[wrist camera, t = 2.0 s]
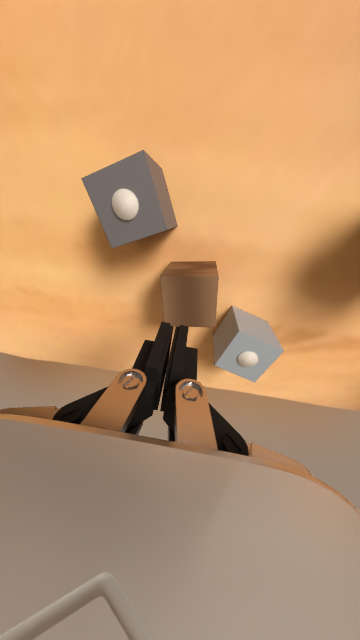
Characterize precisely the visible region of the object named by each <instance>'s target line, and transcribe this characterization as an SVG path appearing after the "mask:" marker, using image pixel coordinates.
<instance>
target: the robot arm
mask: <svg viewBox="0 0 360 640" xmlns="http://www.w3.org/2000/svg"><path fill="white" fill-rule="evenodd" d="M172 333H173V326H170V323H166V322H161V325H160V328H159V331H158V333H157V336H156V339H155V341H149V340H145V341H144V343H143V346H142V348H141V350H140V352H139V355H138V357H137V359H136V361H135V364H134V366H133V368H132V369H127V370H123V371H122V372H120V373H119V374H118V375H117V376H116V377H115V379H114V380H113V381H112V383H111V384H110V385H109V386H108V387H106V388H104V389H102V390H99V391H97V392H95V393H92V394H90V395H88V396H86V397H83V398H81V399H79V400H76V401H74V402H72V403H69V404H68V405H65V406H64V407H62V408H61V409H57V408H56V406H51V407H23V408H7V409H2V410H0V640H360V511H359V510H358V509H357V508H356V507H355V506H354V505H353V504H352V503H351V502H350V501H349V500H348V499H346V497H344V496H343V495H342V494H340V493H339V492H337V491H336V490H335V489H333V488H332V487H330V486H329V485H327V484H325V483H324V482H322V481H320V480H318V479H316V478H315V477H313V476H312V475H311V473H310V472H309V470H308V469H307V468H305V467H304V466H303V465H302V464H301V463H299V462H297V461H296V460H293V459H291V458H288V457H286V456H284V455H281V454H279V453H276V452H274V451H272V450H270V449H267V448H265V447H262V446H260V445H257V444H255V443H253V442H252V443H251V444H249V443H247V442H245V440H244V439H243V438H242V436H241V435H240V434H239V433H238V432H237V431H236V430H235V429H234V428H233V427H232V426H231V425H230V424H229V423H228V422H227V421H226V420H225V419H224V418H223V417H222V416H221V415H220V414H219V413H218V412H217V411H216V410H215V409H214V408H213V407H212V406H211V405H210V404H209V403H208V399H207V394H206V390H205V388H204V386H203V385H202V384H201V383H200V382H198V381H197V349H195V348H189V347H186V343H187V334H188V326H184V325H180V327H176V329H175V334H174V338H173V342H172V347H171V351H170V346H171V340H172ZM169 353H170V356H169ZM165 374H166V375H165ZM164 378H165V382H164ZM163 383H164V389H163V397H162V403H161V410H160V411H164V415H163V419H164V421H165V422H166V424H167V425H168V441H166V440H161V439H156V438H150V437H145V436H140V435H138V434H139V432H140V429H141V427H142V425H143V421H144V420H146V419H147V418H149V417H150V416H152V414H153V410H157V409H158V405H159V401H160V396H161V392H162V387H163Z"/></svg>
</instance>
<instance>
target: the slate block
mask: <svg viewBox="0 0 360 640" xmlns="http://www.w3.org/2000/svg"><path fill="white" fill-rule="evenodd" d="M213 347H214V366H217V367H219V368H222V369H224V370H226V371H229V372H231V373H234V374H236V375H238V376H241V377H243V378H246V379H248V380H250V381H253V382H255V381H256V380H257V379H258V378H259V377H260V376H261V375H262V374H263V373H264V372H265V371H266V370H267V369H268V368H269V366H270V365H271V364H272V363H273V362H274V361H275V360H276V359H277V358H278V357H279V356H280V355H281V354H282V353H283V351H284V350H283V348H282V346H281V345H280V343H279V341H278V339H277V337H276V336H275V334H274V332H273V330H272V329H271V327H270V325H269V323H268V322H267V321H265V320H263V319H261V318H259V317H256V316H254V315H252V314H250V313H248V312H245V311H243V310H241V309H239V308H237V307H234V306H231V308H230V309H229V311H228V313H227V314H226V316H225V317H224V319H223V320H222V322H221V324H220V325H219V327H218V328H217V330H216V331H215V333H214V335H213Z"/></svg>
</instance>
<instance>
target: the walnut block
mask: <svg viewBox="0 0 360 640" xmlns="http://www.w3.org/2000/svg"><path fill="white" fill-rule="evenodd" d="M218 277H219V276H218V271H217V266H216V261H207V262H171V263H170V264H169V266H168V267H167V268H166V270H165V271H164V272H163V274H162V275H161V276H160V278H161V290H162V302H163V314H164V322H166V323H170V326H180V325H184V326H190V327H215V322H216V307H217V292H218Z"/></svg>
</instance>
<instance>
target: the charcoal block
mask: <svg viewBox="0 0 360 640" xmlns="http://www.w3.org/2000/svg"><path fill="white" fill-rule="evenodd" d="M81 179H82V181H83V183H84V186H85V188H86V190H87V192H88V195H89V197H90V199H91V202H92V204H93V206H94V208H95V211H96V213H97V215H98V218H99V220H100V222H101V225H102V227H103V229H104V231H105V234H106V236H107V238H108V241H109V243H110V245H111V247H112V248H115V247H118V246H121V245H124V244H127V243H130V242H133V241H136V240H139V239H142V238H145V237H148V236H151V235H154V234H157V233H160V232H163V231H166V230H169V229H171V228H174V227H176V226H178V225H177V222H176V218H175V215H174V211H173V207H172V204H171V200H170V196H169V193H168V189H167V185H166V182H165V178H164V175H163V171H162V168H161V167H160V166H159V165H158V164H157V163H156V162H155V161H154V160H153V159H152V158H151V157H150V156H149V155H148V154H147V153H146V152H145V151H144V150H142V151H140V152H138V153H136V154H134V155H131V156H129V157H127V158H125V159H123V160H120V161H118V162H116V163H114V164H112V165H110V166H107V167H105V168H103V169H101V170H99V171H96V172H94V173H92V174H90V175H88V176H86V177H83V178H81Z"/></svg>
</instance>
